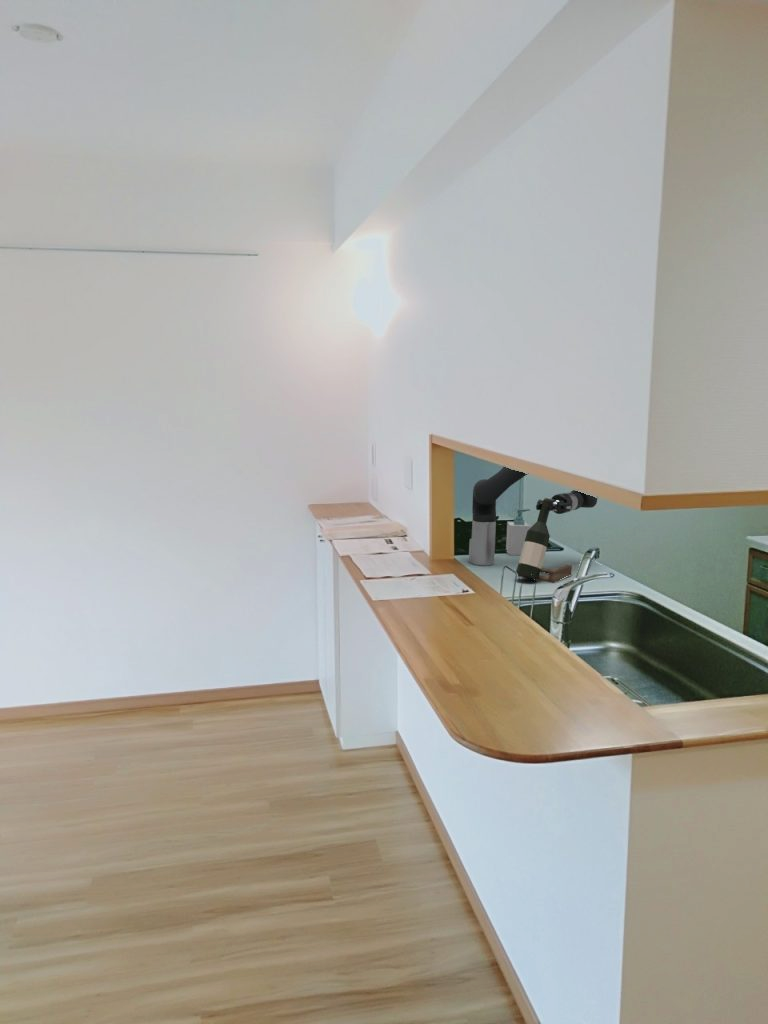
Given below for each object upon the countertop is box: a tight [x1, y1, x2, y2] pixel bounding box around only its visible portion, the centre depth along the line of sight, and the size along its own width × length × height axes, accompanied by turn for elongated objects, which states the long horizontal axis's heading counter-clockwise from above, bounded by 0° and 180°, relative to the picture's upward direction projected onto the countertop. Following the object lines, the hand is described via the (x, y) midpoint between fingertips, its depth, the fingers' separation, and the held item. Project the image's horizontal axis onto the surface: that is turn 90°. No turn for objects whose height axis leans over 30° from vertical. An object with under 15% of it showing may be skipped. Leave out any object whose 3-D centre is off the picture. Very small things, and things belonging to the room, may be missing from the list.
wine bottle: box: [515, 497, 552, 581], centre depth 290 cm, size 8×8×30 cm
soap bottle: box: [505, 508, 532, 556], centre depth 332 cm, size 9×9×19 cm
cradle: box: [537, 564, 573, 584], centre depth 296 cm, size 15×14×4 cm
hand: (542, 507), depth 289 cm, fingers closed on wine bottle, 3 cm apart
